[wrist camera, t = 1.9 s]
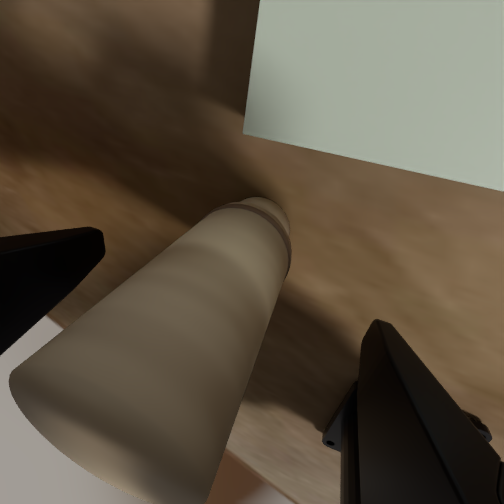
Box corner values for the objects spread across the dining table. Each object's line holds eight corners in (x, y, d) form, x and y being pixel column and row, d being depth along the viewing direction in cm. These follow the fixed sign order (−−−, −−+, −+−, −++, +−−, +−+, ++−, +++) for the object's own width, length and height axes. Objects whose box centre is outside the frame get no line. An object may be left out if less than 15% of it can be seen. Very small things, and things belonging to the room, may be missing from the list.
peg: (289, 273, 12) (203, 534, 5) (216, 250, 13) (40, 449, 5) (311, 199, 10) (224, 436, 3) (224, 176, 11) (-30, 324, 4)
